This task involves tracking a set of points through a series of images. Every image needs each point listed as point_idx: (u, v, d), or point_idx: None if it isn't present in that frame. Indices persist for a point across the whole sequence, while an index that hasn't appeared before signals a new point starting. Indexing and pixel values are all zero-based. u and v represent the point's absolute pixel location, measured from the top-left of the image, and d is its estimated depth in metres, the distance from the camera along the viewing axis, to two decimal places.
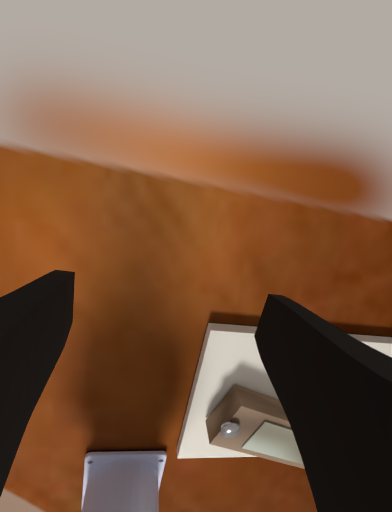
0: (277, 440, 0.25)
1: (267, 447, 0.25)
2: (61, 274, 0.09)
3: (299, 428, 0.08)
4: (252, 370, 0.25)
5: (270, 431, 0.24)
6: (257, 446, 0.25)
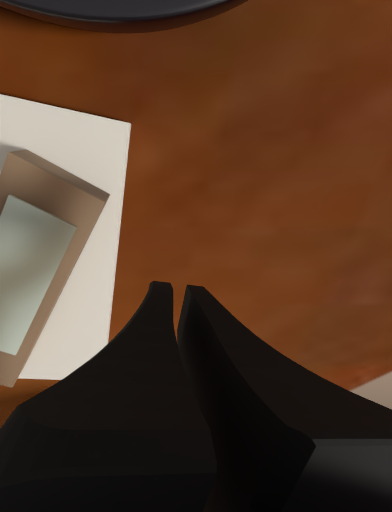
0: None
1: (13, 324, 0.17)
2: (164, 285, 0.09)
3: None
4: None
5: None
6: (11, 337, 0.18)
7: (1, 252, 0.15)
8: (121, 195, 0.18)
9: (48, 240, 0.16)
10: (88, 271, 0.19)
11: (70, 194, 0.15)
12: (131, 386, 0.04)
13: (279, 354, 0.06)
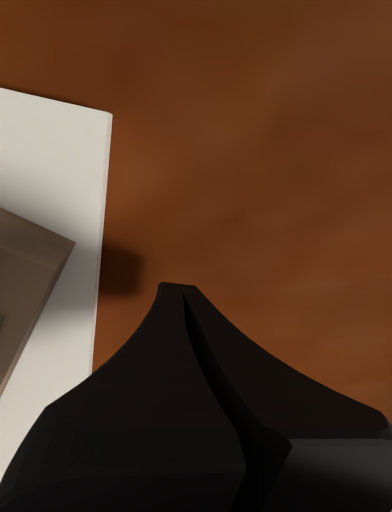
0: None
1: None
2: (173, 286, 0.09)
3: None
4: None
5: None
6: None
7: None
8: (96, 242, 0.10)
9: None
10: (45, 362, 0.12)
11: None
12: (152, 386, 0.04)
13: (266, 353, 0.06)
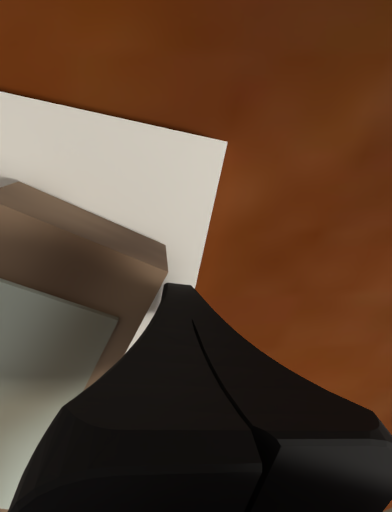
0: None
1: (15, 472, 0.10)
2: (178, 287, 0.09)
3: None
4: None
5: None
6: (14, 489, 0.11)
7: None
8: (199, 257, 0.11)
9: (67, 346, 0.08)
10: None
11: (104, 264, 0.08)
12: (164, 387, 0.04)
13: (260, 353, 0.06)
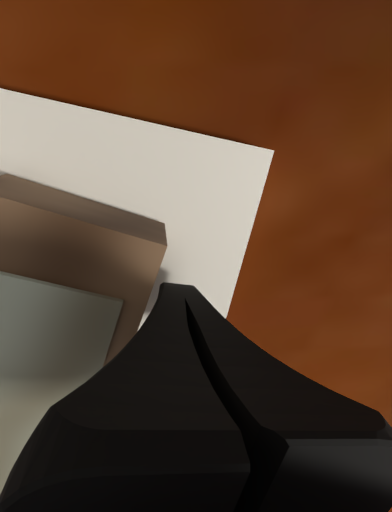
0: (13, 458, 0.10)
1: None
2: (174, 287, 0.09)
3: None
4: None
5: None
6: None
7: None
8: (240, 262, 0.11)
9: (76, 334, 0.08)
10: None
11: (100, 245, 0.07)
12: (156, 386, 0.04)
13: (264, 353, 0.06)
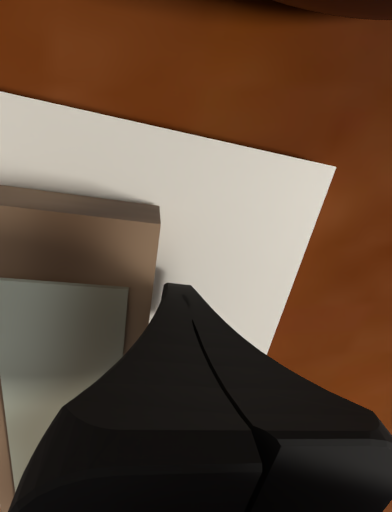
0: None
1: None
2: (178, 287, 0.09)
3: None
4: None
5: None
6: None
7: (24, 374, 0.09)
8: (295, 270, 0.12)
9: (89, 329, 0.08)
10: None
11: (94, 235, 0.07)
12: (164, 387, 0.04)
13: (260, 353, 0.06)
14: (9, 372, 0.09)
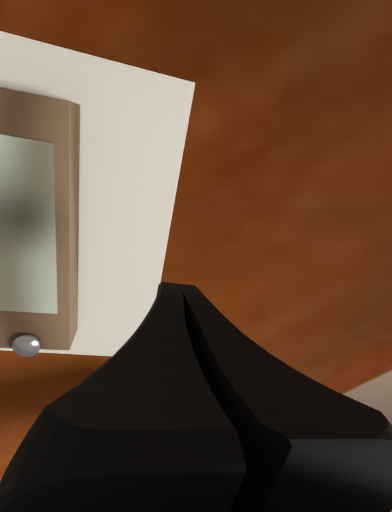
0: (18, 272, 0.16)
1: (39, 279, 0.16)
2: (173, 286, 0.09)
3: None
4: None
5: (5, 293, 0.16)
6: (44, 295, 0.17)
7: None
8: (180, 160, 0.17)
9: (31, 170, 0.14)
10: (141, 241, 0.19)
11: (29, 105, 0.13)
12: (152, 386, 0.04)
13: (266, 353, 0.06)
14: None
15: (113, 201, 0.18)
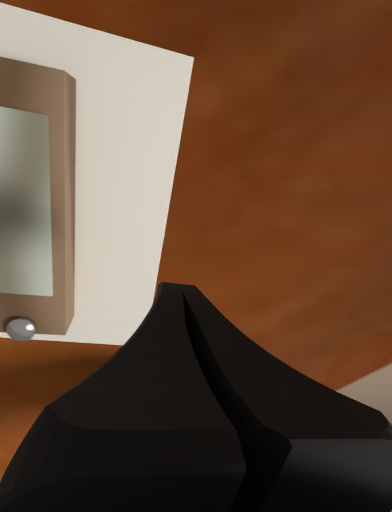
0: (12, 252, 0.16)
1: (34, 260, 0.16)
2: (173, 286, 0.09)
3: None
4: None
5: None
6: (39, 276, 0.16)
7: None
8: (179, 139, 0.17)
9: (25, 143, 0.14)
10: (139, 223, 0.18)
11: (23, 74, 0.13)
12: (152, 387, 0.04)
13: (266, 353, 0.06)
14: None
15: (111, 181, 0.17)
